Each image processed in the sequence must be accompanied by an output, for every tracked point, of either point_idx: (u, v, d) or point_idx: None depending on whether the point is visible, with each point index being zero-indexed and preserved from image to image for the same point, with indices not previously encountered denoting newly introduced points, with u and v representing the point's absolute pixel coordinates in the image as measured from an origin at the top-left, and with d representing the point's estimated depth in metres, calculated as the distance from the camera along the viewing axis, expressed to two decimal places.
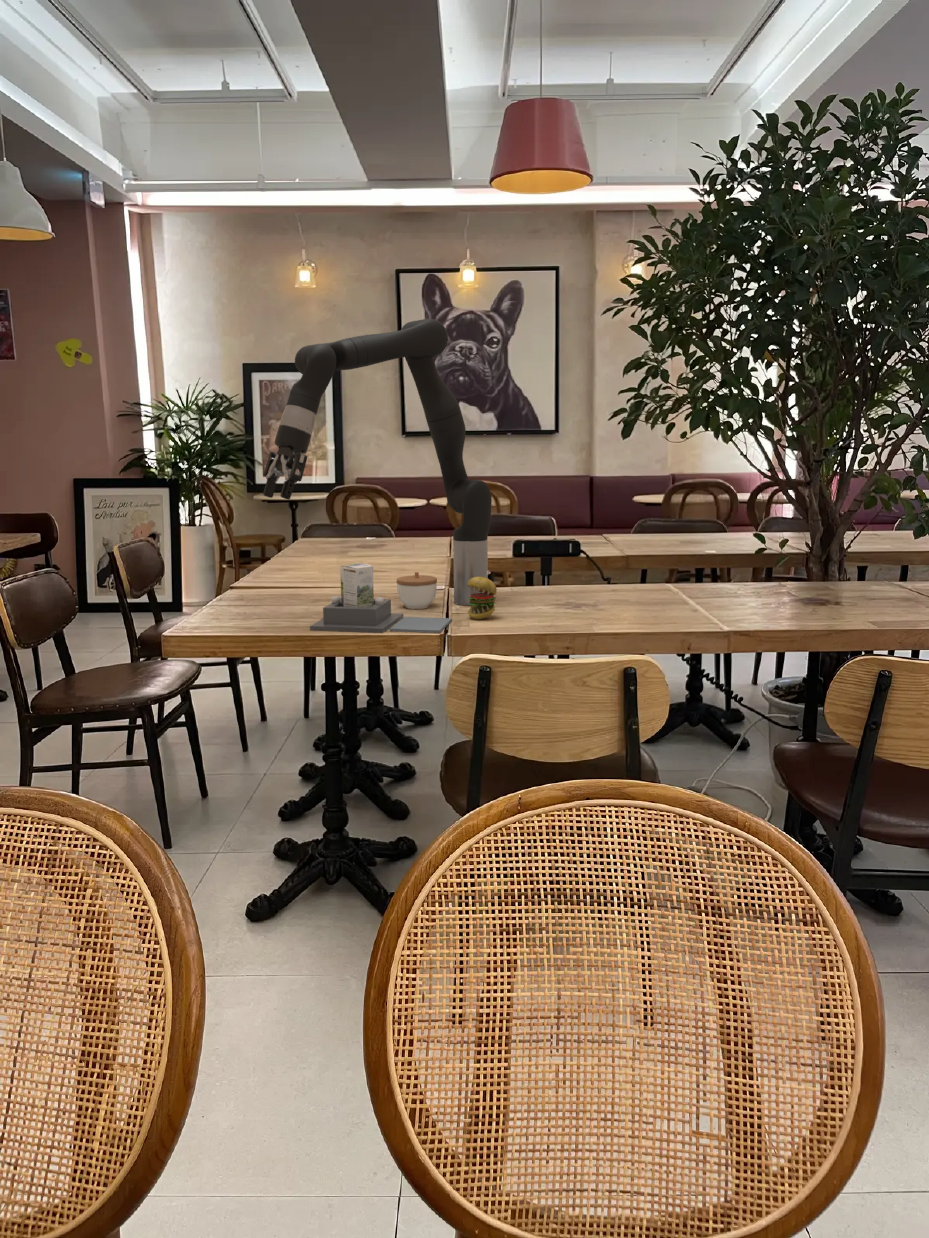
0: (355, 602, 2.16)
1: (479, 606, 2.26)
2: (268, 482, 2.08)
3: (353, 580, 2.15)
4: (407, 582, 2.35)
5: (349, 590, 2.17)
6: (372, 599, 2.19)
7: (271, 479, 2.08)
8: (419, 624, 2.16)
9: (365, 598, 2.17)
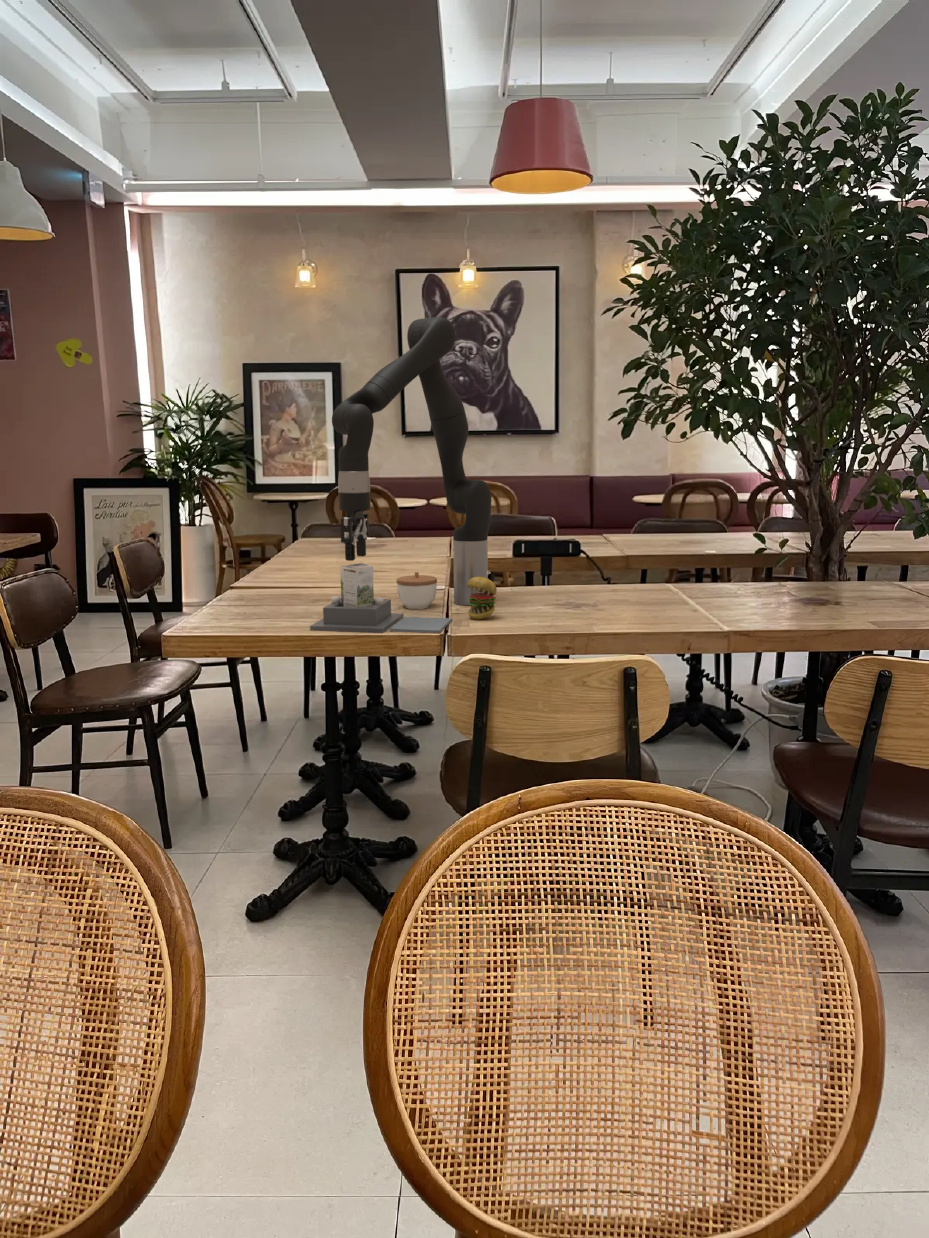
0: (355, 602, 2.16)
1: (479, 606, 2.26)
2: (357, 543, 2.21)
3: (353, 580, 2.15)
4: (407, 582, 2.35)
5: (349, 590, 2.17)
6: (372, 599, 2.19)
7: (359, 539, 2.20)
8: (419, 624, 2.16)
9: (365, 598, 2.17)
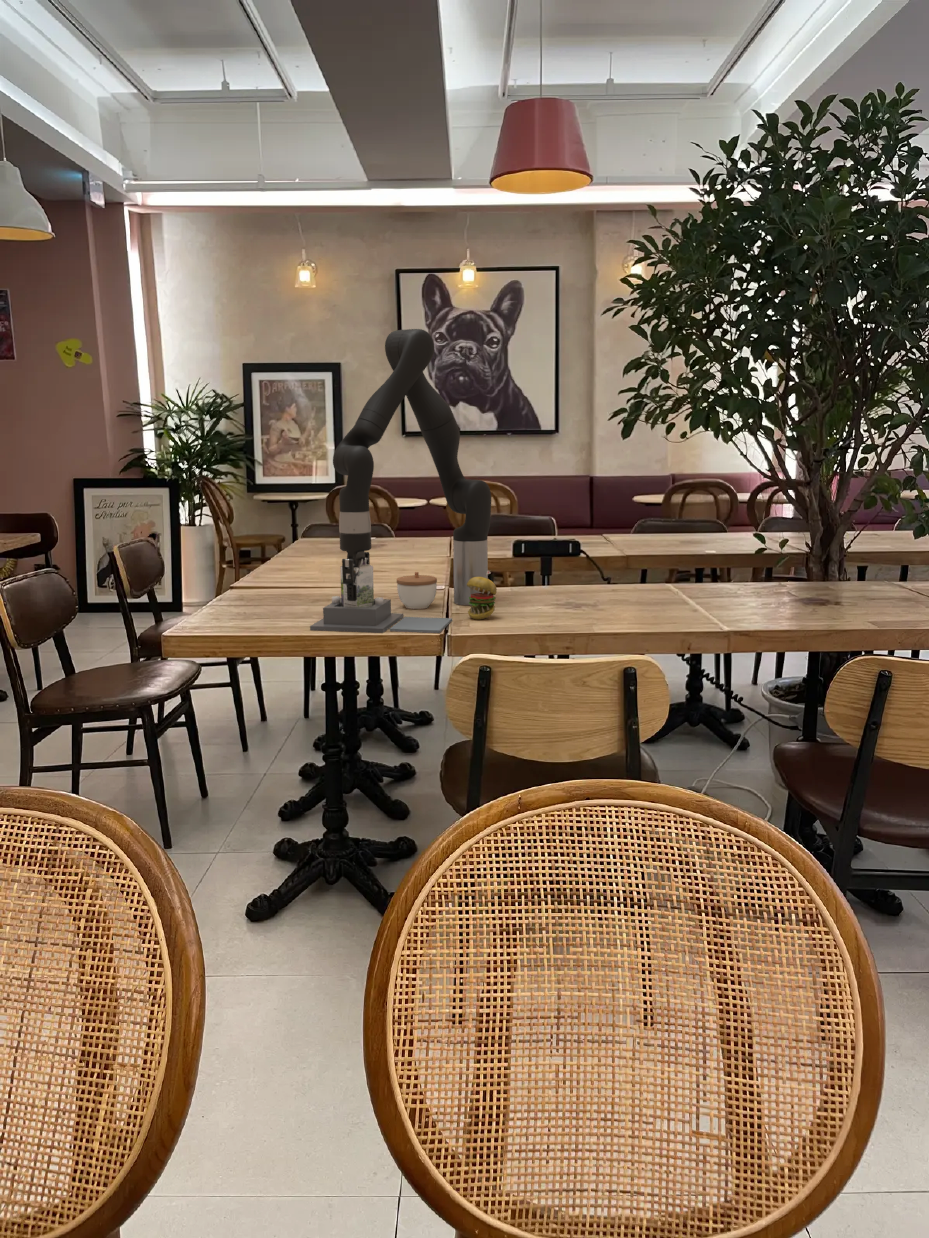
0: (355, 602, 2.16)
1: (479, 606, 2.26)
2: None
3: None
4: (407, 582, 2.35)
5: None
6: (372, 599, 2.19)
7: None
8: (419, 624, 2.16)
9: (365, 598, 2.17)
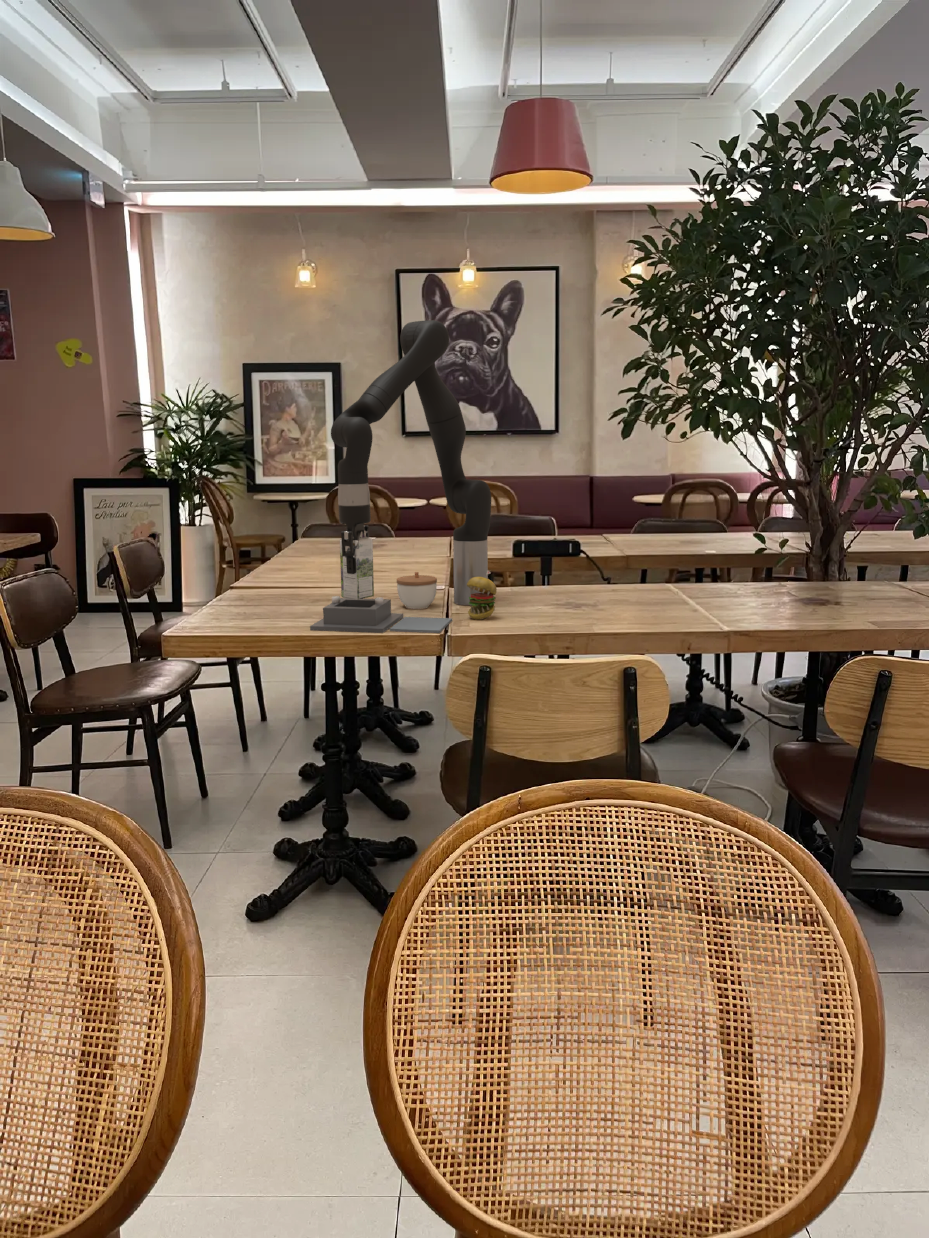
0: (354, 575, 2.15)
1: (479, 606, 2.26)
2: None
3: None
4: (407, 582, 2.35)
5: None
6: (372, 572, 2.18)
7: None
8: (419, 624, 2.16)
9: (365, 571, 2.16)
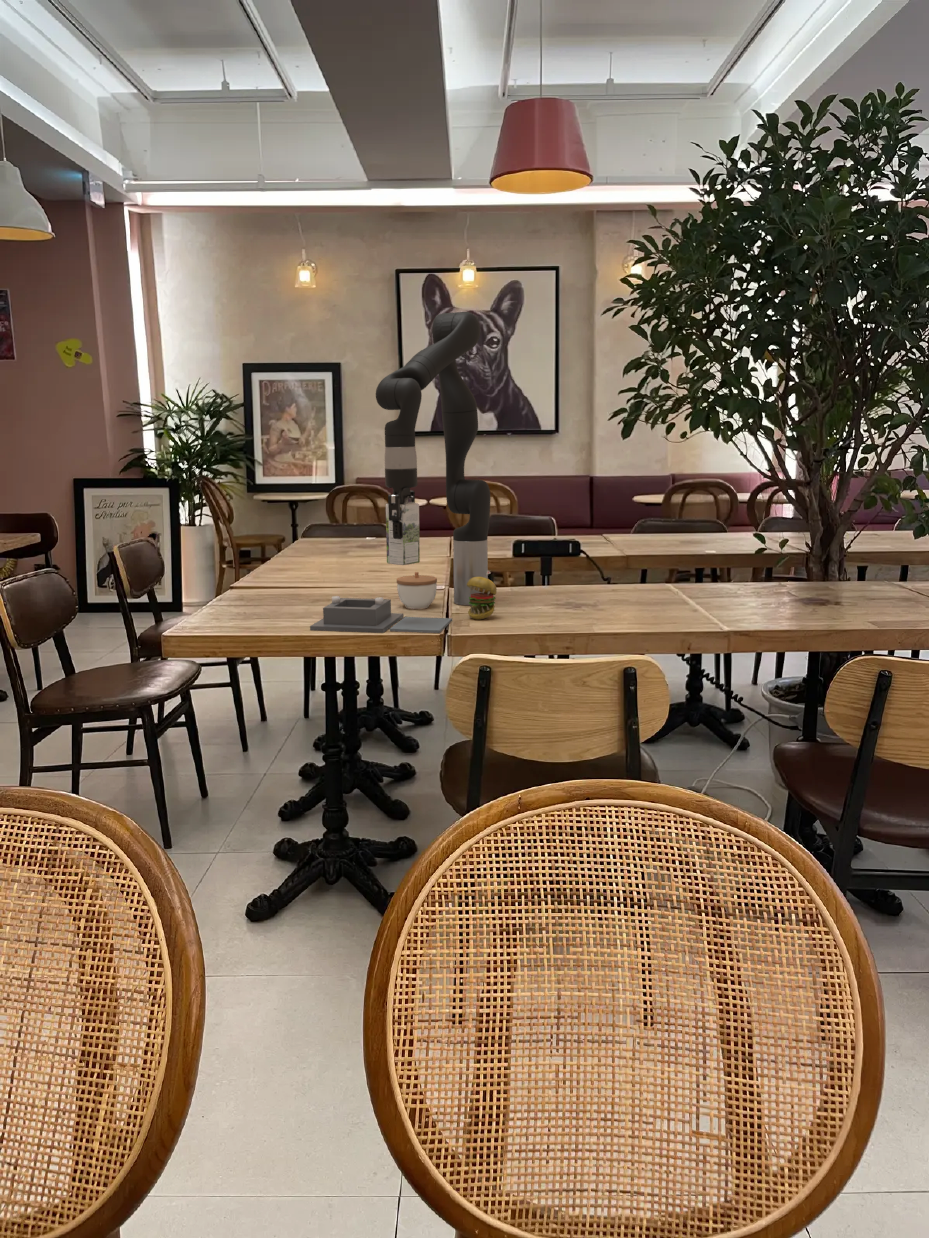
0: (401, 540, 2.11)
1: (479, 606, 2.26)
2: None
3: None
4: (407, 582, 2.35)
5: None
6: (418, 538, 2.14)
7: None
8: (419, 624, 2.16)
9: (411, 536, 2.12)
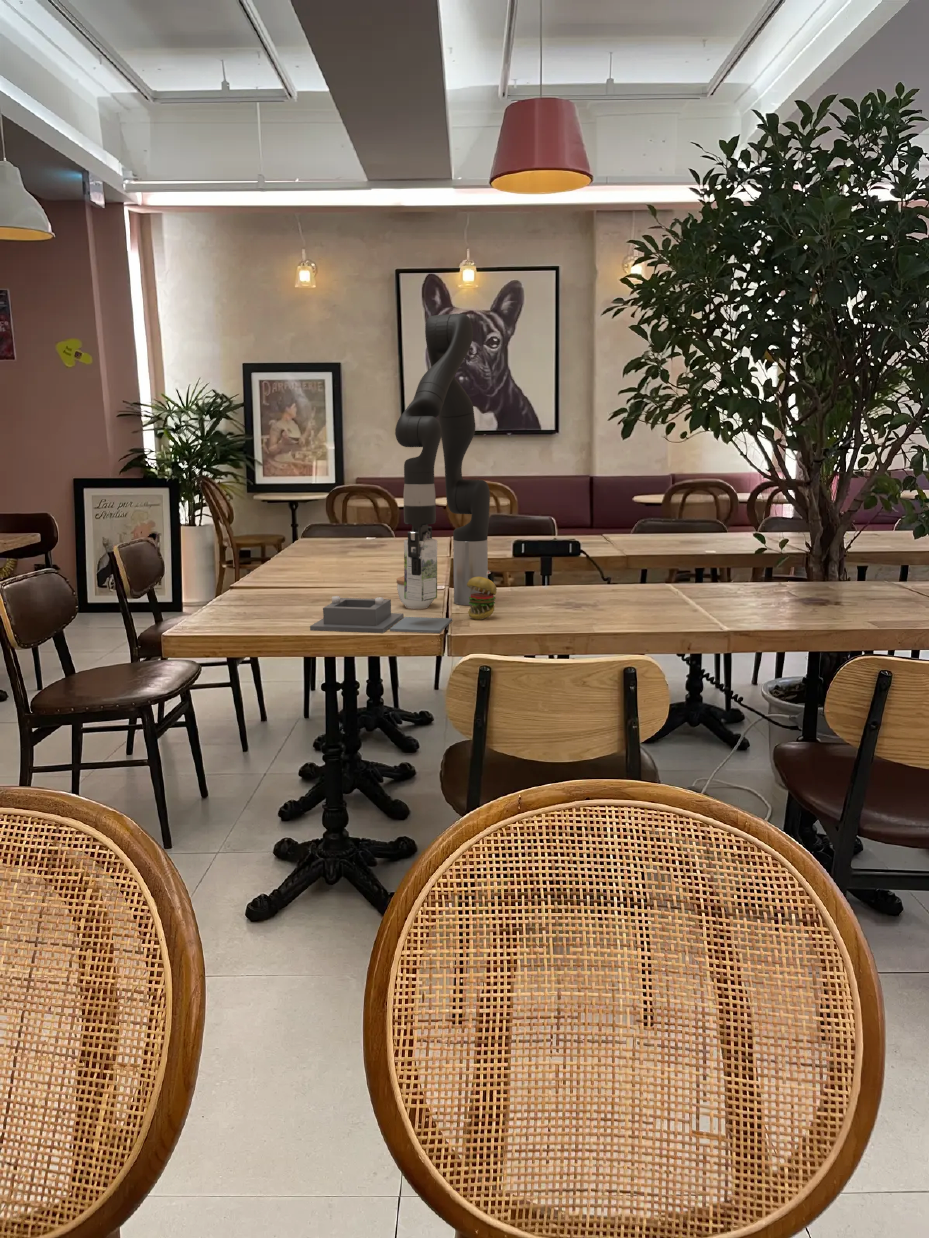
0: (419, 576, 2.11)
1: (479, 606, 2.26)
2: None
3: None
4: None
5: None
6: (436, 574, 2.15)
7: None
8: (419, 624, 2.16)
9: (429, 572, 2.13)
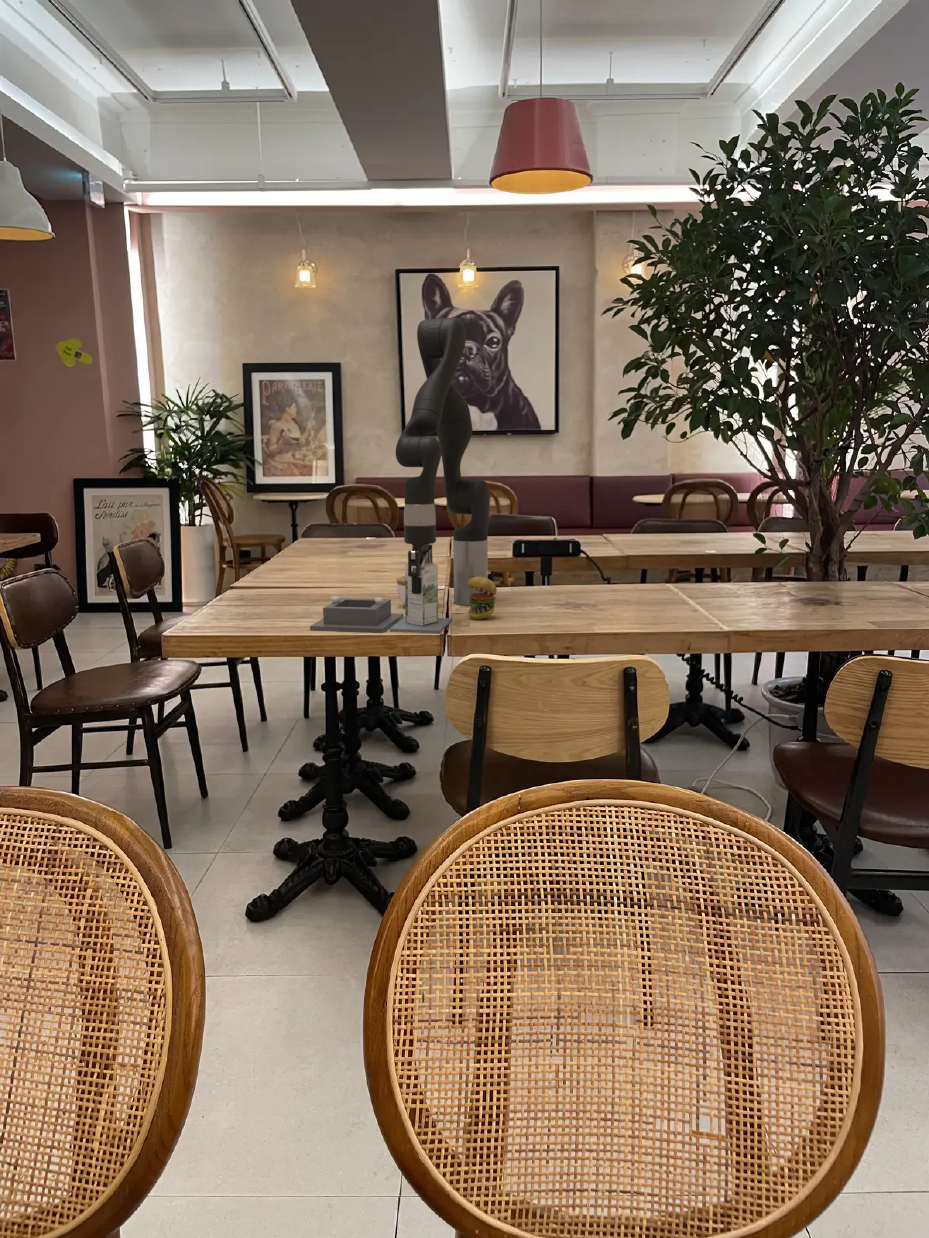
0: (420, 601, 2.13)
1: (479, 606, 2.26)
2: None
3: None
4: None
5: None
6: (437, 598, 2.16)
7: None
8: None
9: (430, 597, 2.14)
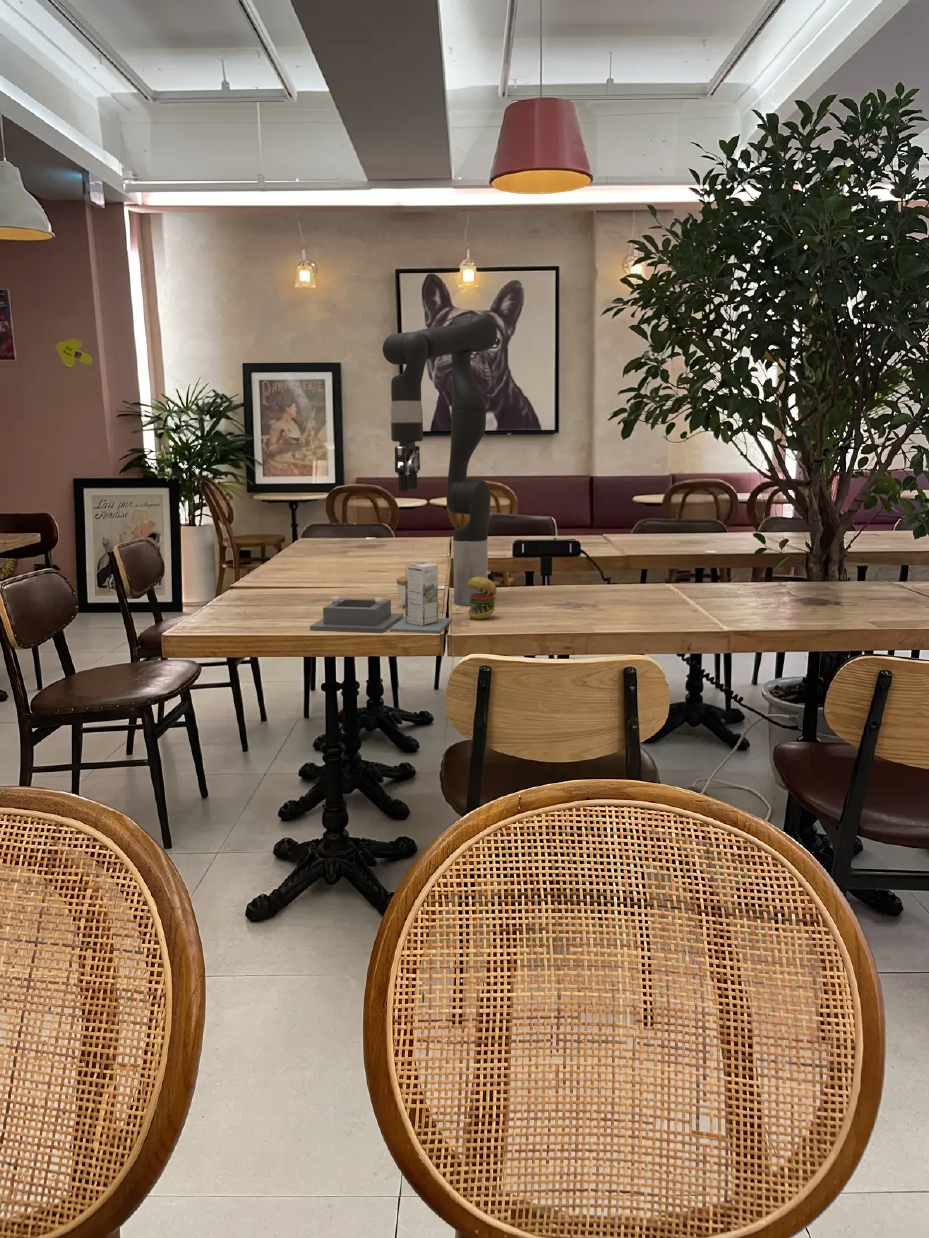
0: (420, 601, 2.13)
1: (479, 606, 2.26)
2: (408, 476, 2.20)
3: (419, 579, 2.12)
4: None
5: (414, 590, 2.13)
6: (437, 598, 2.16)
7: (411, 472, 2.20)
8: None
9: (430, 597, 2.14)
